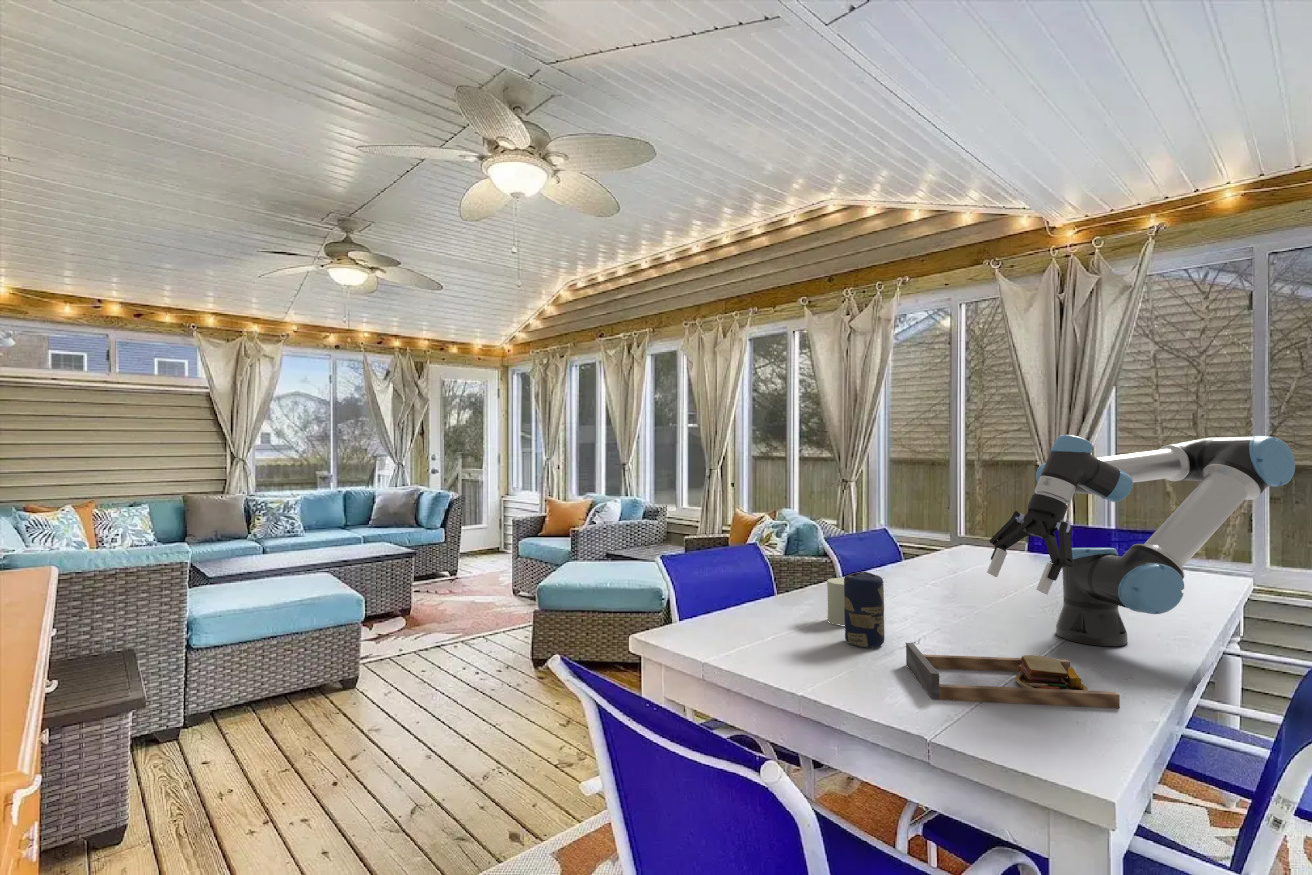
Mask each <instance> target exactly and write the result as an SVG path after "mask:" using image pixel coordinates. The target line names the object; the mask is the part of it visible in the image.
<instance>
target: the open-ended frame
mask: <svg viewBox="0 0 1312 875" xmlns="http://www.w3.org/2000/svg"><path fill="white" fill-rule="evenodd" d="M905 649H906V650H905V654H906V656H905V657H906V658H905V663H906V667H907V666H908V667H909V668H908V667H907V668H908V669H909V671H910V670H911V671H912V672H911V671H910V672H911V673H912V675H913V676H914V678H915V679H916V680H917V681H919V682H918V683H919V684H920V686H921V685H922V686H921V687H922V689H923V690H924V691H925V692H926V694H927V695H928V697H929V698H930V699H931V700H937V701H938V700H939V701H957V702H959V701H960V702H979V703H981V702H982V703H983V702H984V703H998V704H999V703H1001V704H1003V703H1004V704H1020V705H1021V704H1023V705H1041V706H1042V705H1043V706H1044V705H1046V706H1065V707H1067V706H1068V707H1087V708H1088V707H1089V708H1109V709H1111V708H1112V709H1120V707H1121V706H1120V705H1121V704H1120V702H1121V701H1120V698H1121V697H1120V694H1119V693H1118V692H1116V691H1108V690H1104V691H1103V690H1064V689H1041V688H1023V687H1016V686H1015V687H1014V686H1013V687H1012V686H994V685H993V686H990V685H972V684H970V685H969V684H967V685H966V684H949V683H946V684H945V683H943V684H942V683H941V684H940V673H939V671H938V670H937V669H941V670H943V669H944V670H946V669H947V670H948V669H949V670H966V671H967V670H968V671H989V672H992V671H993V672H995V671H997V672H1018V673H1019V672H1020V673H1021V671H1019V670H1018V665H1021V664H1022V661H1021V657H1001V656H998V657H997V656H975V655H974V656H971V655H949V654H948V655H945V654H944V655H943V654H942V655H941V654H923V652H921V651H920V649H919V648H918V647H917V646H916V645H915V644H914V642H905ZM1059 660H1060V661H1061V664H1062V666H1063V667H1064V669H1065V670H1066V671H1068V668H1069V667H1071V661H1070V660H1068V659H1059Z"/></svg>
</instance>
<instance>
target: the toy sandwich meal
mask: <svg viewBox="0 0 1312 875" xmlns="http://www.w3.org/2000/svg"><path fill="white" fill-rule="evenodd" d="M1020 658H1021V661H1022V664H1021V665H1018V670H1019V671H1021V672H1020V673H1019V674H1017V675H1016V676H1015V678H1014V679H1015V681H1016V682H1017V684H1018V685H1019V686H1020V688H1041V689H1064V690H1088V687H1087V686H1086V685H1085V684H1083V683H1082V682H1083V680H1082V678H1081V677H1080V676H1079V675H1078V673H1077V672H1076V671H1075V669H1074V668H1073V667H1071V666H1070V667H1069V668H1068V671H1066V670H1065V669H1064V667H1063V666H1062V664H1061V661H1060V660H1061V659H1057V658H1053V657H1050V656H1044V655H1034V654H1027V655H1025V654H1024V655H1021V657H1020ZM1088 691H1089V690H1088Z"/></svg>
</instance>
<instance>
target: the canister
mask: <svg viewBox="0 0 1312 875" xmlns="http://www.w3.org/2000/svg"><path fill="white" fill-rule="evenodd" d="M843 578H844V603H845V608H844V615H845V627H844V638H845V641H846V642H847V643H848V644H850V645H854V646H857V647H861V648H875V647H881V646H882V645H883V644H884V643H885V594H884V592H885V590H884V589H885V588H884V580H883V578H882V577H881V576H880V575H877V574H873V573H870V572H867V571H858V572H854V573H850V574H847V575H845V576H844V577H843Z"/></svg>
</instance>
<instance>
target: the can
mask: <svg viewBox="0 0 1312 875" xmlns="http://www.w3.org/2000/svg"><path fill="white" fill-rule="evenodd" d="M844 578H845V577H832V578H829V579H827V580H826V582H827V584H826V585H827V587H826V588H827V620H828V621H829V622H830V623H833V624H840V625H845V615H844V608H845V603H844ZM830 623H829V624H830Z"/></svg>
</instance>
